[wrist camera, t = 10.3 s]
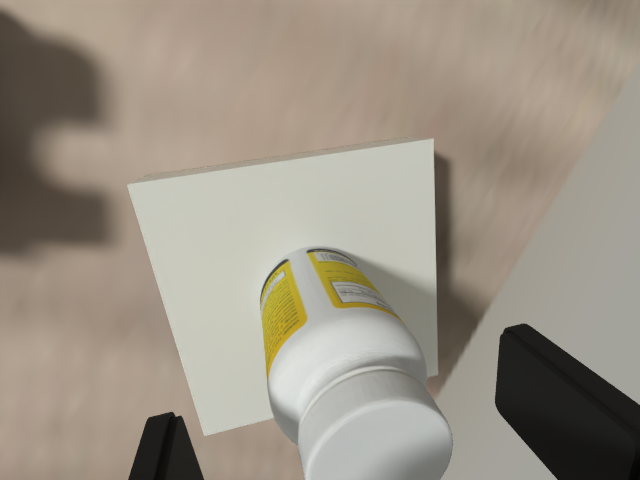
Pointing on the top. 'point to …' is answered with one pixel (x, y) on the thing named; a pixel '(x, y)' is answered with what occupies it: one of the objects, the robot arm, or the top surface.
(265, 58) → the top surface
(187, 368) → the base plate
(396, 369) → the supplement bottle
